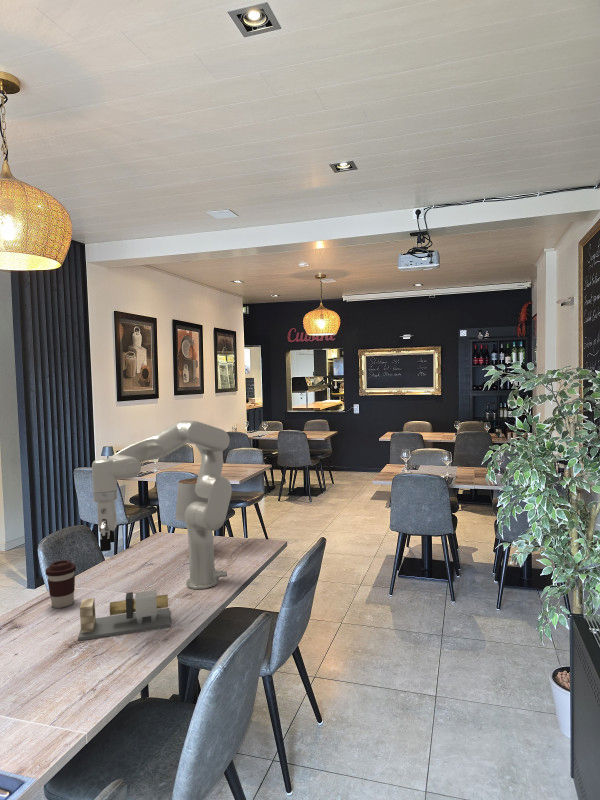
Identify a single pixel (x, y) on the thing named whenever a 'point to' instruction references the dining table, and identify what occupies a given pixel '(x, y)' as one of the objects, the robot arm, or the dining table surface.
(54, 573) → the coffee cup
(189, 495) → the lamp
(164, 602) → the tube
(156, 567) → the dining table surface
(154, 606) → the sleeve
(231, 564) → the dining table surface
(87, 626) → the socket
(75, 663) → the dining table surface
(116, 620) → the board
